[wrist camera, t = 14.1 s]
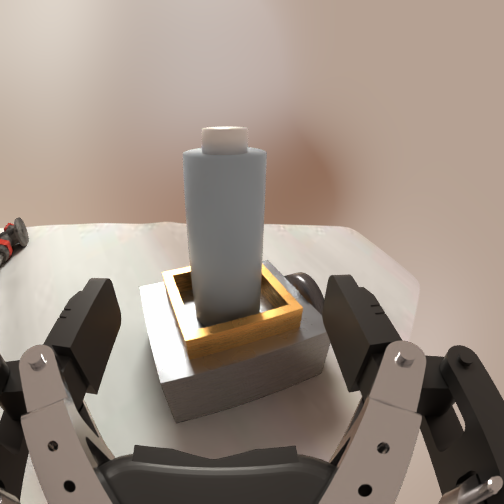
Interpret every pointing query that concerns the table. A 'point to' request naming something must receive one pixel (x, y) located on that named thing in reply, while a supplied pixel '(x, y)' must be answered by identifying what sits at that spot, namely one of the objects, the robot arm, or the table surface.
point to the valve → (12, 238)
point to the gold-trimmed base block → (234, 343)
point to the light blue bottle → (225, 224)
